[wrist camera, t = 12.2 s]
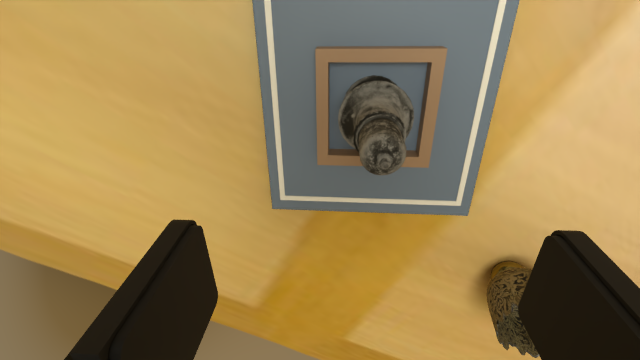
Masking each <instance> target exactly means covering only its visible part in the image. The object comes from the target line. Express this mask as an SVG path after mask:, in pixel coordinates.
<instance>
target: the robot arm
mask: <svg viewBox="0 0 640 360" xmlns="http://www.w3.org/2000/svg"><path fill="white" fill-rule="evenodd" d="M217 299H218V291H217V287H216V283H215V279H214V275H213V270H212V266H211V262H210V258H209V254H208V249H207V245H206V241H205V237H204V233H203V229H202V227H201V226H197V224H196V222H195V221H193V220H172V221H171V222H170V223H169V224H168V225H167V227H166V228H165V229H164V231H163V232H162V233H161V235H160V236H159V237H158V238H157V240H156V241H155V242H154V244H153V245H152V246H151V248H150V249H149V250H148V251H147V253H146V254H145V255H144V257H143V258H142V259H141V261H140V262H139V263H138V264H137V266H136V267H135V268H134V270H133V271H132V272H131V273H130V275H129V276H128V277H127V279H126V280H125V281H124V283H123V284H122V285H121V286H120V288H119V289H118V290H117V292H116V293H115V294H114V296H113V297H112V298H111V299H110V301H109V302H108V304H107V305H106V306H105V307H104V309H103V310H102V311H101V313H100V314H99V315H98V317H97V318H96V319H95V320H94V322H93V323H92V324H91V326H90V327H89V328H88V329H87V331H86V332H85V333H84V335H83V336H82V337H81V338H80V340H79V341H78V342H77V344H76V345H75V346H74V348H73V349H72V350H71V352H70V353H69V354H68V356H67V357H66V358H65V359H64V360H193V359H194V357H195V354H196V352H197V350H198V347H199V345H200V342H201V340H202V338H203V335H204V333H205V330H206V328H207V326H208V323H209V321H210V318H211V316H212V314H213V311H214V309H215V307H216V304H217ZM518 314H519V317H520V320H521V322H522V324H523V325H524V327H525V329H526V331H527V333H528V335H529V337H530V339H531V340H532V342H533V344H534V346H535V348H536V350H537V352H538V354H539V356H540V357H541V359H542V360H640V288H639V287H638V286H637V285H636V284H635V283H634V282H633V281H632V280H631V279H630V278H629V277H628V276H627V275H626V274H625V273H624V272H623V271H622V270H621V269H620V268H619V267H618V266H617V265H616V264H615V263H614V262H613V261H612V260H611V259H610V258H609V257H608V256H607V255H606V254H605V253H604V252H603V251H602V250H601V249H600V248H599V247H598V246H597V245H596V244H595V243H594V242H593V241H592V240H591V239H590V238H589V237H588V236H587V235H586V234H585V233H584V232H581V231H562V230H557V231H554V232H553V233H552V234H551V236H547V237H546V238H545V240H544V242H543V244H542V247H541V249H540V252H539V254H538V257H537V259H536V262H535V264H534V267H533V269H532V272H531V274H530V277H529V279H528V282H527V284H526V287H525V290H524V292H523V295H522V297H521V300H520V302H519V305H518Z"/></svg>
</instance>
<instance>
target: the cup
mask: <svg viewBox="0 0 640 360" xmlns="http://www.w3.org/2000/svg"><path fill="white" fill-rule="evenodd" d="M531 272H532V270H531V269H527V268H524V267H523V266H521V265H520V264H518V263H516V262H512V261H507V262H502V263H500V264H498V265H496V266H495V267H494V268H493V270H492V272H491V281H490V283H489V285H488V288H487V302H488V306H489V310H490V314H491V318H492V321H493V324H494V328H495V331H496V335H497V339H498V341H499V343H500V344H501V343H502V344H503V347H504V348H505V349H506V350H508V349H509V344H510V345H511V346H512V347H513V346H516V348H517V349H518V350H519V351H520V353H521V354H522V355H525V353H526V352H527V353H529V354H530V355H531V356H532V357H535V358H537V357H539V354H538V352H537V350H536V348H535V346H534V344H533V342H532V340H531V339H530V337H529V335H528V333H527V331H526V329H525V327H524V325H523V324H522V322H521V320H520V317H519V314H518V305H519V302H520V300H521V297H522V295H523V292H524V290H525V287H526V284H527V282H528V279H529V277H530V274H531Z"/></svg>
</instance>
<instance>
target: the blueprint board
mask: <svg viewBox="0 0 640 360" xmlns="http://www.w3.org/2000/svg"><path fill="white" fill-rule="evenodd" d="M252 1H253V12H254V22H255V32H256V43H257V53H258V64H259V74H260V84H261V95H262V105H263V116H264V126H265V136H266V147H267V157H268V168H269V178H270V188H271V199H272V209H291V210H320V211H348V212H377V213H405V214H434V215H462V216H468V213H469V208H470V204H471V200H472V196H473V192H474V188H475V183H476V179H477V175H478V171H479V167H480V163H481V158H482V154H483V150H484V146H485V142H486V138H487V133H488V129H489V125H490V121H491V117H492V113H493V108H494V104H495V100H496V96H497V92H498V88H499V83H500V79H501V75H502V71H503V67H504V63H505V58H506V54H507V50H508V46H509V42H510V38H511V33H512V29H513V25H514V21H515V17H516V13H517V8H518V4H519V0H252ZM372 75H376V76H383V77H386V78H388V79H390V80H391V81H393V82H394V83H395V84H396V85H397V86H398V87H400V88H401V89H402V90H403V91H405V93H406V94H407V95H408V97H409V98H410V100H411V103H412V105H413V108H414V121H413V126H412V129H411V131H410V133H409V135H408V136H407V138H406V140H405V145H406V151H407V153H406V158H405V161H404V163H403V165H402V166H401V167H400V168H399V169H398V170H397V171H395V172H394V173H391V174H388V175H375V174H372V173H370V172H369V171H367V170H366V169H365V168H364V166H363V165H362V163H361V161H360V155H359V153H358V151H357V150H356V149H355V148H354V147H352V146H351V145H349V144H348V142H347V141H346V140H345V139H344V138H343V136H342V134H341V131H340V129H339V123H338V115H339V109H340V107H341V104H342V102H343V100H344V97H345V95H346V92H347V91H348V89H349V88H350V87H351V85H353V84H354V83H355V82H356V81H357V80H359V79H362V78H364V77H367V76H372Z"/></svg>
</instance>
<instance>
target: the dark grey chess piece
mask: <svg viewBox="0 0 640 360" xmlns="http://www.w3.org/2000/svg"><path fill="white" fill-rule="evenodd" d="M413 121H414V108H413V105H412V103H411V100H410V98H409V97H408V95H407V94H406V93H405V91H403V90H402V89H401V88H400V87H398V86H397V85H396V84H395V83H394V82H393V81H391V80H390V79H388V78H386V77H383V76H376V75H372V76H367V77H364V78H362V79H359V80H357V81H356V82H355V83H354V84H353V85H351V87H350V88H349V89H348V91H347V92H346V95H345V97H344V100H343V102H342V104H341V107H340V109H339V115H338V123H339V129H340V131H341V134H342V136H343V138H344V139H345V140H346V141H347V142H348V144H349V145H351V146H352V147H354V148H355V149H356V150H357V151H358V153H359V155H360V161H361V163H362V165H363V166H364V168H365V169H366V170H367V171H369V172H370V173H372V174H375V175H388V174H391V173H394V172H395V171H397V170H398V169H399V168H400V167H401V166H402V165H403V163H404V161H405V158H406V153H407V151H406V145H405V140H406V138H407V136H408V135H409V133H410V131H411V129H412V126H413Z"/></svg>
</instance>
